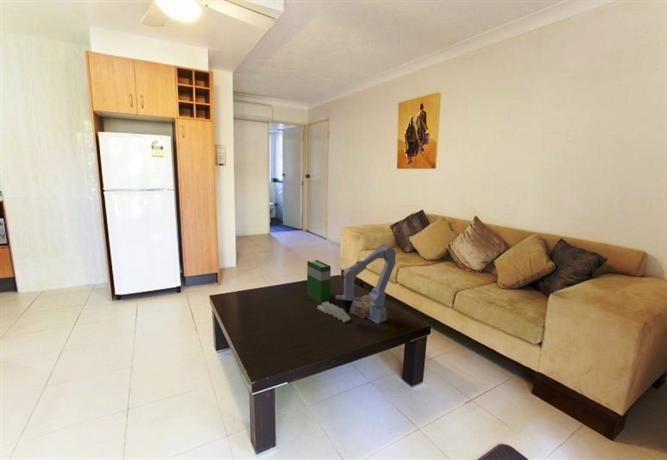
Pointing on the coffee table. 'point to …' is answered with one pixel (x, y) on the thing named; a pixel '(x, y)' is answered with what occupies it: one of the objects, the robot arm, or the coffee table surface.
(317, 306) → the domino
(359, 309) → the stack of blocks
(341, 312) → the domino
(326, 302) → the domino
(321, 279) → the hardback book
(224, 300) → the coffee table surface
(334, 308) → the domino
